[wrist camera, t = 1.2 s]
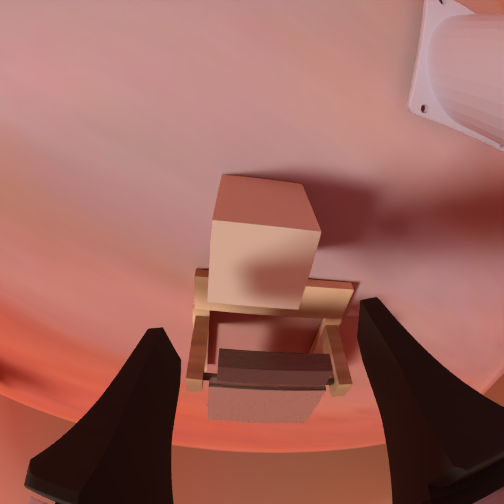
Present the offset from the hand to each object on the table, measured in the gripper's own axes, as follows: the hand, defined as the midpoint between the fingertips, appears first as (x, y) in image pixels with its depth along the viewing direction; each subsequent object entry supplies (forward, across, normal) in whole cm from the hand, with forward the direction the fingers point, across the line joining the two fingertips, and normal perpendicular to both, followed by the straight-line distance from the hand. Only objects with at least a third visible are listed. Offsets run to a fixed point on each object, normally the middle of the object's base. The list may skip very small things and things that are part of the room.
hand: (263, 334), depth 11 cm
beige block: (+9, 0, 0) cm, 9 cm away
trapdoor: (+4, +1, +9) cm, 10 cm away
